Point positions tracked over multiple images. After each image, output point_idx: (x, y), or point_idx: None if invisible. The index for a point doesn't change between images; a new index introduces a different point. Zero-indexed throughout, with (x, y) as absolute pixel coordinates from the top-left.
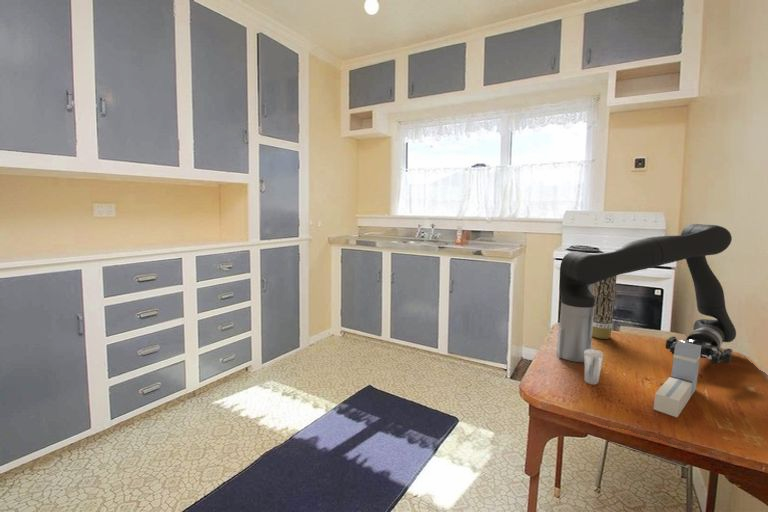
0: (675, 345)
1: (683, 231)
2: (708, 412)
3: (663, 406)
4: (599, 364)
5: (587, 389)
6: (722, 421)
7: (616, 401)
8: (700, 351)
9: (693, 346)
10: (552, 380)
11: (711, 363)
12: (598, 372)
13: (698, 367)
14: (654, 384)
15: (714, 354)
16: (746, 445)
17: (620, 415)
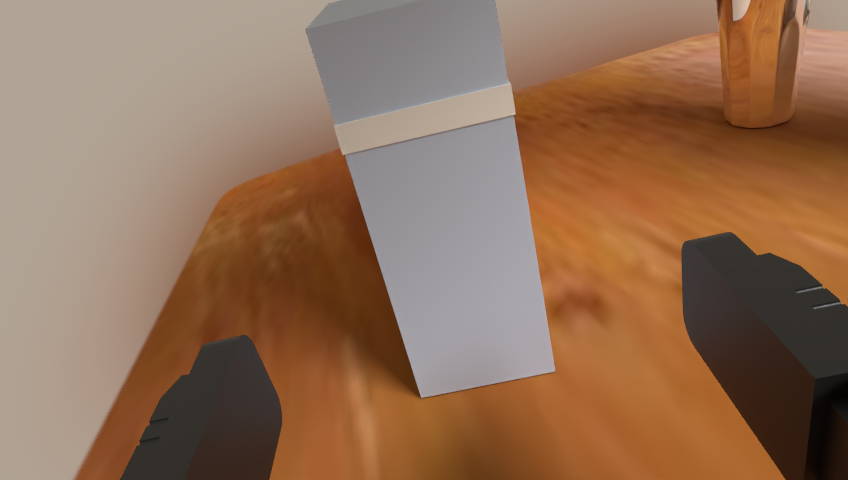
0: None
1: None
2: (333, 253)
3: None
4: (717, 14)
5: (698, 98)
6: (289, 242)
7: (582, 119)
8: (325, 86)
9: (360, 4)
10: (814, 60)
11: (275, 409)
12: (722, 60)
13: (371, 233)
14: (613, 273)
15: (195, 408)
16: (243, 202)
17: (523, 103)
